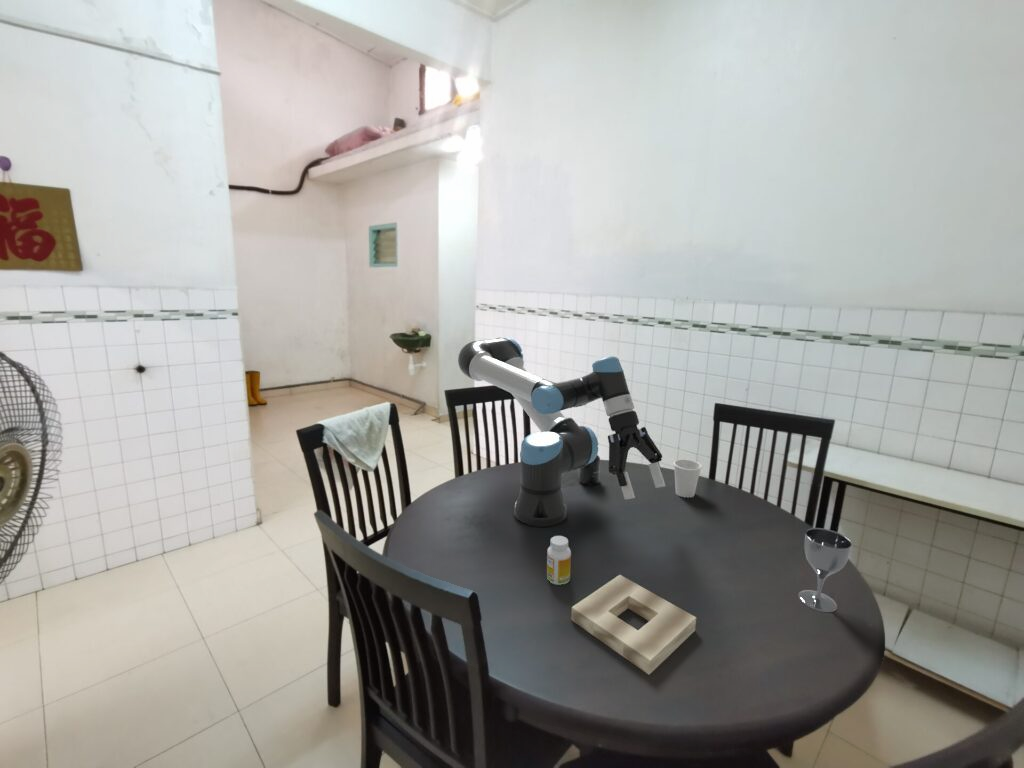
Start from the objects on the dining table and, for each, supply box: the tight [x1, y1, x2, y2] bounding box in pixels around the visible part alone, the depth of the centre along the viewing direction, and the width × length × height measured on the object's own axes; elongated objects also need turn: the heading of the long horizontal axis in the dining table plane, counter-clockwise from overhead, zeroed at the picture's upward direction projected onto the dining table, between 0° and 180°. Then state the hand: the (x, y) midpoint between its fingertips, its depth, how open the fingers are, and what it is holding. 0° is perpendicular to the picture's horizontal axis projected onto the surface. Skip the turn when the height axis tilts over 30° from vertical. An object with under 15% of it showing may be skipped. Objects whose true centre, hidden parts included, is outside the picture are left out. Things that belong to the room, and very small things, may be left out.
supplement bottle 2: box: [578, 454, 601, 486], centre depth 159 cm, size 7×7×12 cm
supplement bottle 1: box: [546, 535, 572, 586], centre depth 108 cm, size 5×5×10 cm
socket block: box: [570, 574, 697, 675], centre depth 94 cm, size 18×16×3 cm
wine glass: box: [797, 527, 852, 613], centre depth 100 cm, size 8×8×15 cm
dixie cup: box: [673, 458, 703, 499], centre depth 151 cm, size 8×8×10 cm
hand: (645, 492), depth 123 cm, fingers open, 13 cm apart
